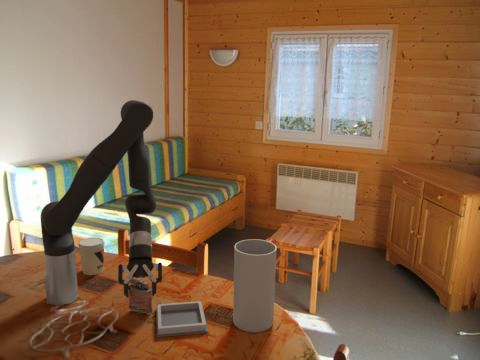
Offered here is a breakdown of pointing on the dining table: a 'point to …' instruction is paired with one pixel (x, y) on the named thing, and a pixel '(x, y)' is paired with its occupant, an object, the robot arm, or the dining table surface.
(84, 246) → the coffee cup
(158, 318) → the tray
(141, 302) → the lighter
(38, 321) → the dining table surface
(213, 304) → the dining table surface
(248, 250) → the cylinder vase
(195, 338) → the dining table surface
